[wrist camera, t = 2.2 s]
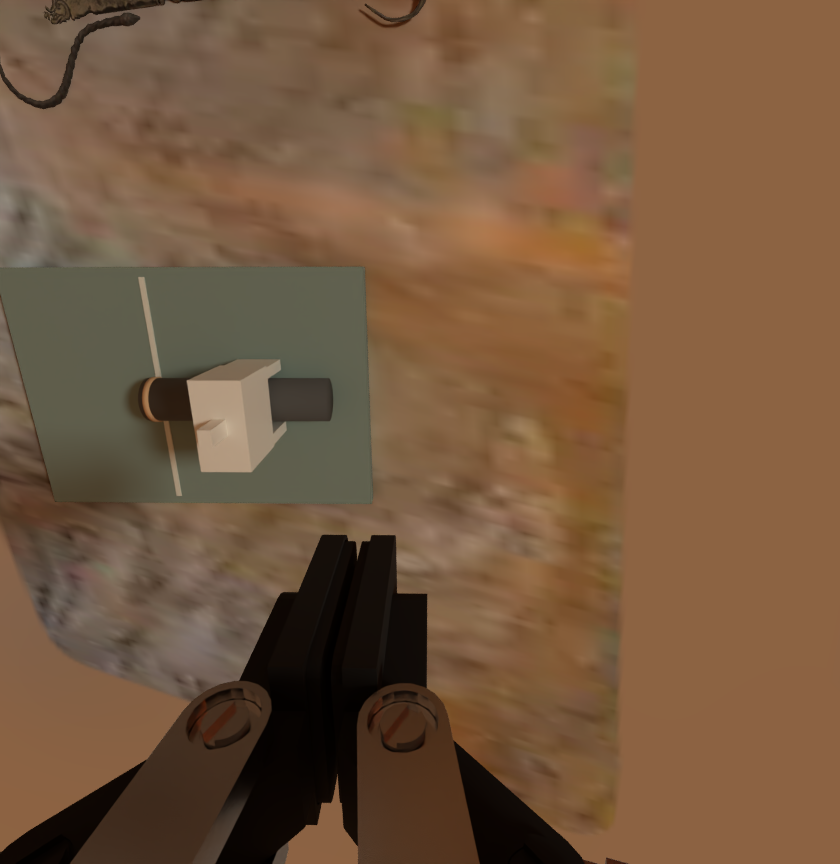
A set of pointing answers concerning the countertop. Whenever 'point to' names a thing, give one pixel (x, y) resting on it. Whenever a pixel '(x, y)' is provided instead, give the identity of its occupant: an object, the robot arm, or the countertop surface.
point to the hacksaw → (80, 3)
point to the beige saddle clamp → (234, 415)
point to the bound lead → (286, 396)
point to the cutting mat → (188, 376)
